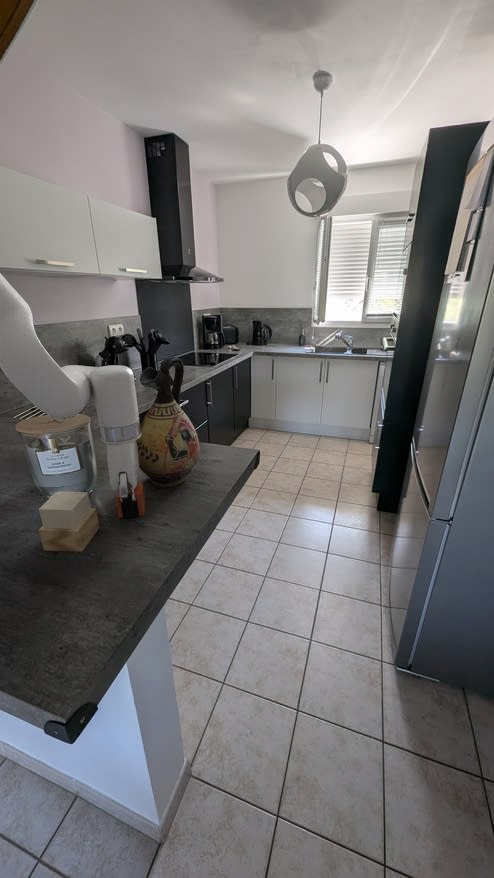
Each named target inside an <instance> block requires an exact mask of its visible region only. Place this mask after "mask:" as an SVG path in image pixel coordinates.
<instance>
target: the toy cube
mask: <svg viewBox="0 0 494 878" xmlns="http://www.w3.org/2000/svg"><path fill="white" fill-rule="evenodd" d="M128 486H131V484H128ZM134 489H135V499H137V502H138V509H139V516H144V515H145V509H146V497H145V491H144V489H145V488H144V483H143V482H138V483H137V486H136V488H134ZM128 493H130V494H131V490H128ZM131 495H132V494H131ZM115 501H116V506H117V507H116V508H117V513H118V514H117V515H118V518H119V519H121V518H123V514H122V508H121V500H120V490H119V486H118V488H117V490H116V494H115Z"/></svg>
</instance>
